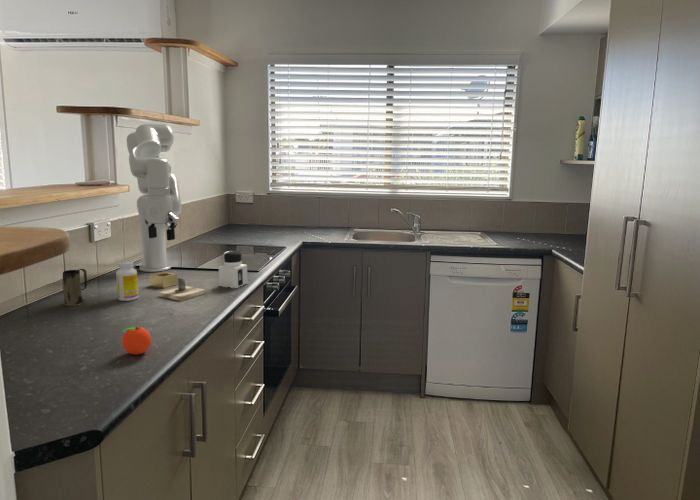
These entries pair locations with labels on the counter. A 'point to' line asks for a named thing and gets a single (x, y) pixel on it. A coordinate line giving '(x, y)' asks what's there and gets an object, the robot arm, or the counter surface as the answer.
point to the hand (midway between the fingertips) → (161, 238)
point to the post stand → (181, 291)
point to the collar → (164, 279)
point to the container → (232, 270)
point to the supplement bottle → (127, 281)
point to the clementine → (136, 340)
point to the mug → (73, 287)
